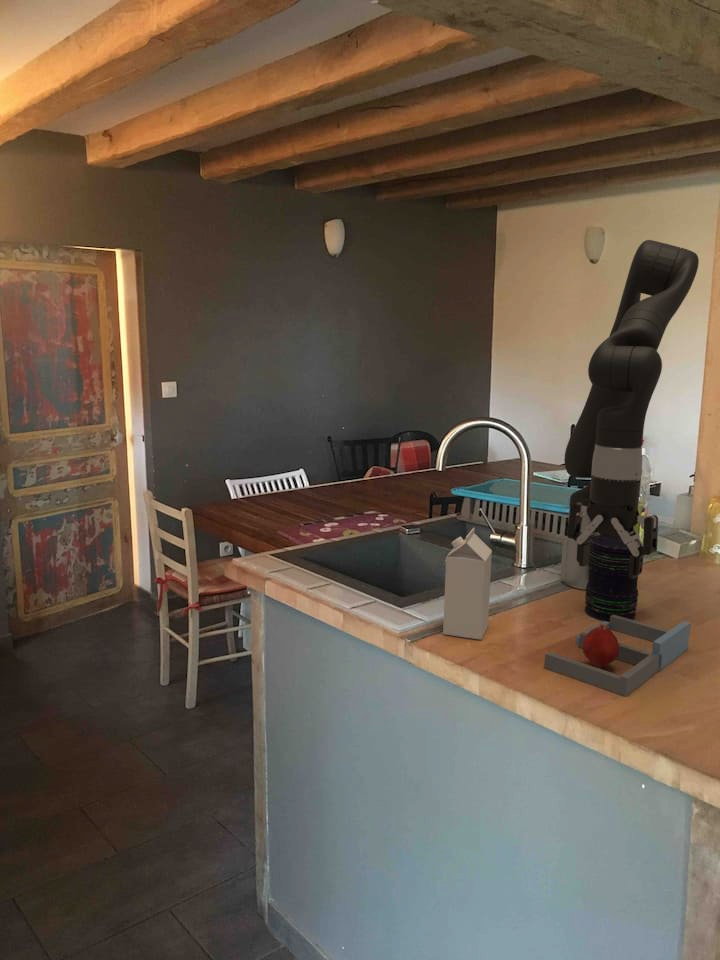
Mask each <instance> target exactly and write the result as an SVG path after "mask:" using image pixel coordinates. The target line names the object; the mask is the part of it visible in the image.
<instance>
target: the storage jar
mask: <svg viewBox="0 0 720 960" xmlns="http://www.w3.org/2000/svg"><path fill="white" fill-rule="evenodd" d="M590 543H591V545H590V554H589V564H588V566H589V580H588V584H587V585H586V590H585V595H584V596H585V597H584V599H585V601H584V602H585V606H584V612H585V614H586V615H587V616H588V617H590V618H592V619H595V620H596V621H597V620H598V621H601V622H603V621H606V622H609V623H610V616H612V615H617V616H620V617H624V618H627V619H631V620H634V621H635V619H636V617H637V616H636V611H637V606H638V601H639V600H638V597H639V590H638V580H639V579H638V578H639V576H638V577H636V578H634V579H632V578H629V577H628V576H629V564H630V556H631V555H632V553H631V551H630V550H629V548H628V546H627V545H626V544H624V542H623V540H622V539H621V537H619V538H614V537H612V536H609V535H596V536H593V537H592V538H591V540H590Z"/></svg>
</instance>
